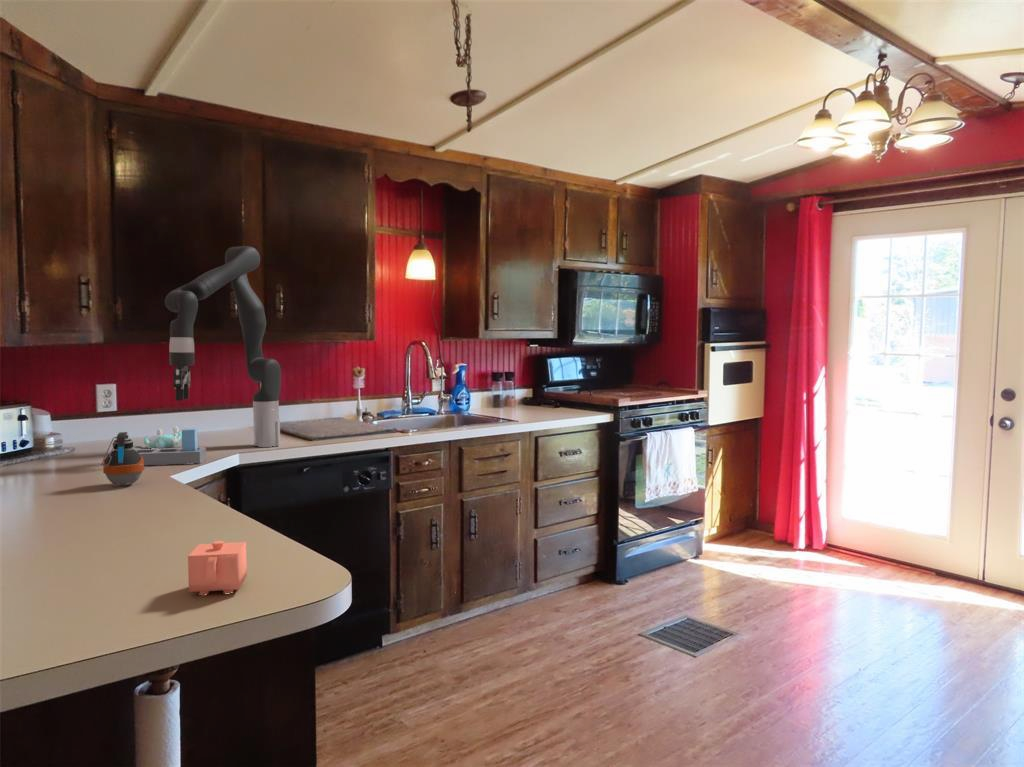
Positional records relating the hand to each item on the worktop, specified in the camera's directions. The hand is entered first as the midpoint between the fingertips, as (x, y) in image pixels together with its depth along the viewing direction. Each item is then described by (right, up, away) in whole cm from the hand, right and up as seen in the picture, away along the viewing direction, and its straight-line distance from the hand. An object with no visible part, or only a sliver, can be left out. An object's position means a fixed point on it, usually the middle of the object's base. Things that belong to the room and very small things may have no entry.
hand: (182, 399), depth 237 cm
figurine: (-23, -19, +34) cm, 45 cm away
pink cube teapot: (+60, -30, -116) cm, 134 cm away
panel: (-4, -21, -1) cm, 21 cm away
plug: (+2, -21, 0) cm, 21 cm away
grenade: (+1, -24, -37) cm, 44 cm away
